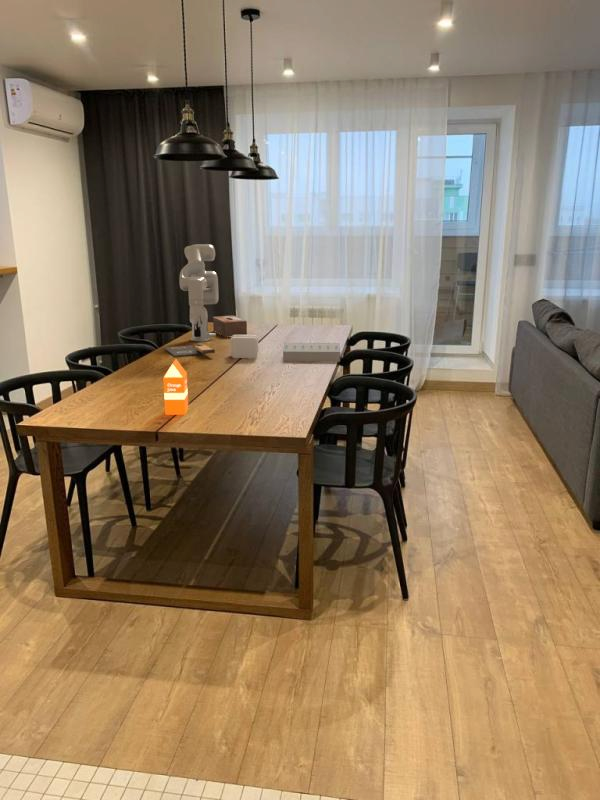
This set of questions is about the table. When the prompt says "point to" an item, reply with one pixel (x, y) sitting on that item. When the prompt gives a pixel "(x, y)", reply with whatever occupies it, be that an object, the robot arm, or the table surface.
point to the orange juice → (175, 390)
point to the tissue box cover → (229, 325)
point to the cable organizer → (244, 346)
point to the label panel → (183, 351)
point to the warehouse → (311, 352)
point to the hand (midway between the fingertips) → (197, 336)
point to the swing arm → (204, 349)
